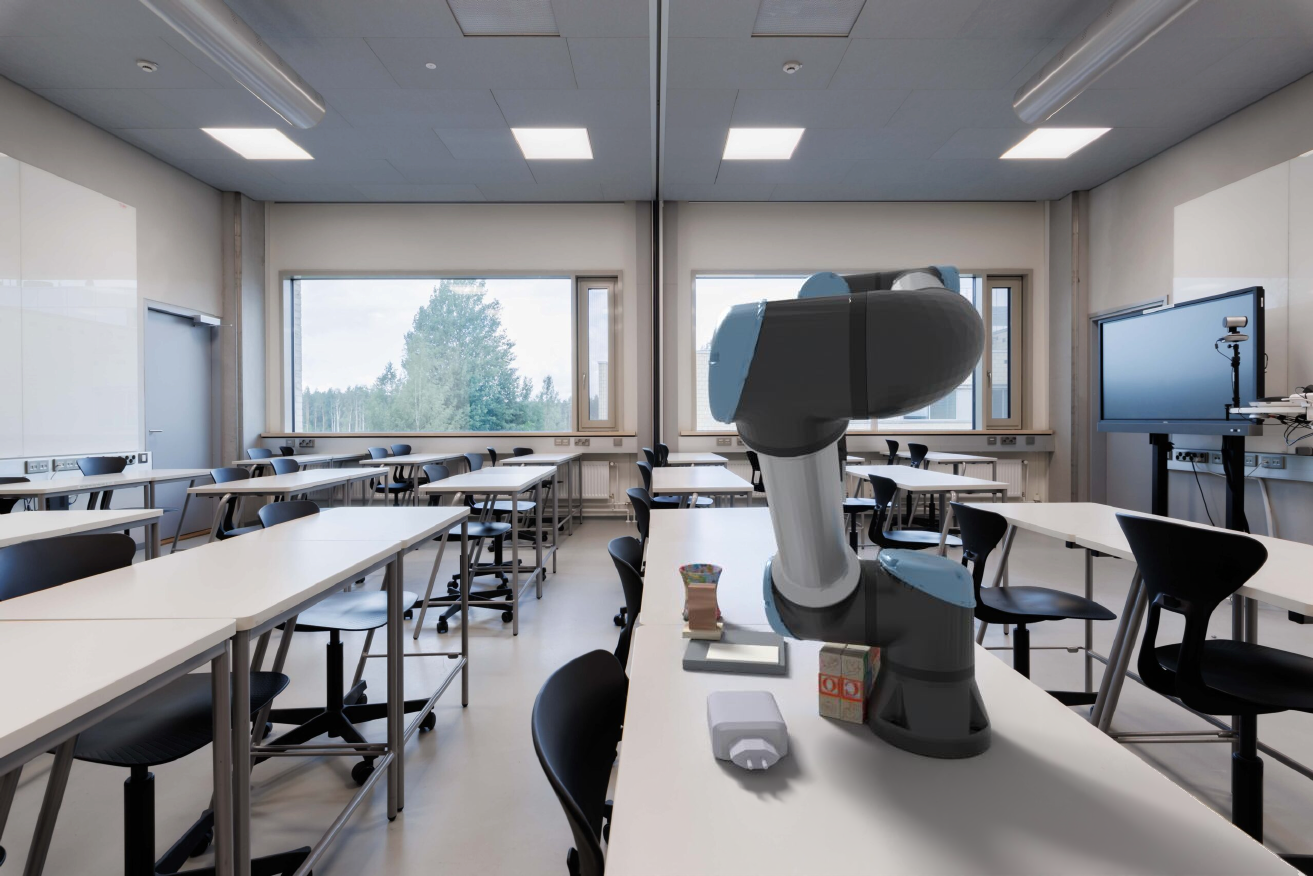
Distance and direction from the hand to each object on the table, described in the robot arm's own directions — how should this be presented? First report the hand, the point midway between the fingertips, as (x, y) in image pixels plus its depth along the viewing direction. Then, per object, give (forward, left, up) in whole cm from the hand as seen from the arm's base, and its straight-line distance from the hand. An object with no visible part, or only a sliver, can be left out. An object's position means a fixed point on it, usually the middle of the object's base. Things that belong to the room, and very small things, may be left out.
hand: (832, 497), depth 102 cm
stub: (+8, +23, -27) cm, 36 cm away
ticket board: (+3, +17, -29) cm, 33 cm away
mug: (+24, +26, -29) cm, 46 cm away
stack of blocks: (-9, -2, -29) cm, 31 cm away
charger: (-30, +13, -29) cm, 44 cm away
